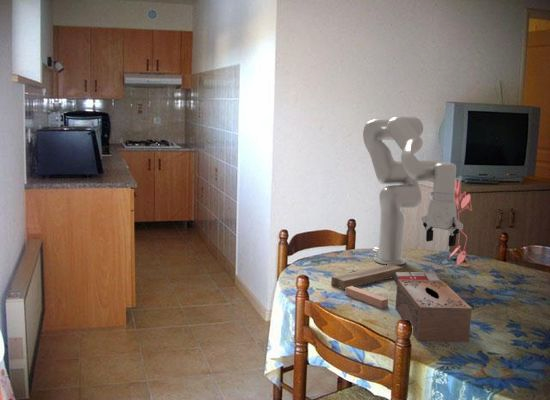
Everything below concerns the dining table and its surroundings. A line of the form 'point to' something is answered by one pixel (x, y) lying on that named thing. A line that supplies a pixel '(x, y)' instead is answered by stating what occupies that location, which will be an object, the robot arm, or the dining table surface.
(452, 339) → the tissue box cover
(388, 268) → the brown wooden plank
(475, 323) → the dining table surface
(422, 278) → the calculator
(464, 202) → the leafy plant stem
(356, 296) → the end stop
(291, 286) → the dining table surface
